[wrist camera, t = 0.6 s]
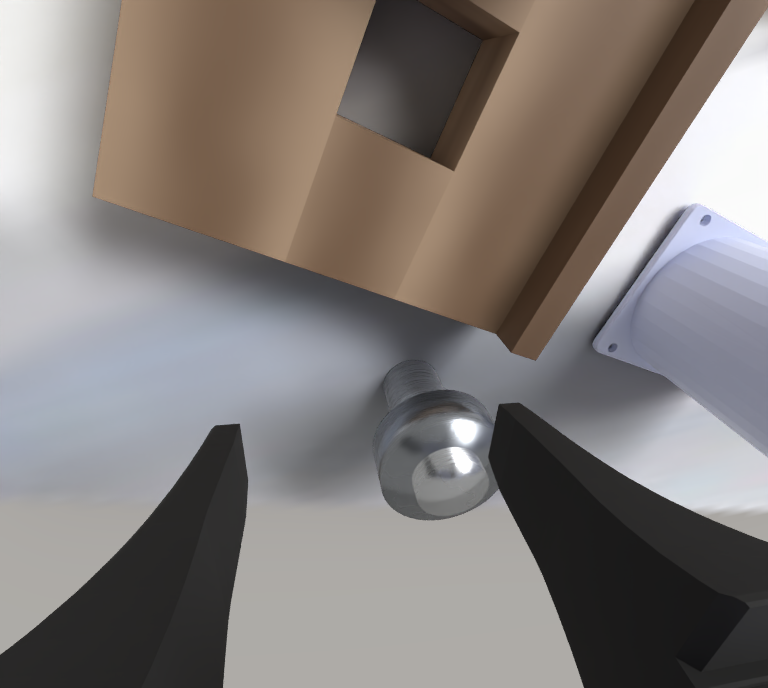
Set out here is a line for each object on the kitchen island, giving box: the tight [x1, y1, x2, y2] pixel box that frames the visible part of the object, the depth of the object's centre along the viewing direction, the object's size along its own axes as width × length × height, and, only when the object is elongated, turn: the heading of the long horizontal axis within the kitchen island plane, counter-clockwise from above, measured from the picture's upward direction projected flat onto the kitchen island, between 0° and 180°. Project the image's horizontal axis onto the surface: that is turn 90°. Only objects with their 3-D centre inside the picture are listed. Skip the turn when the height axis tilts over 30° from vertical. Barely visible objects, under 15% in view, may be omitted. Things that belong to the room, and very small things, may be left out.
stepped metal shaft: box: [373, 360, 499, 520], centre depth 20 cm, size 5×5×7 cm
